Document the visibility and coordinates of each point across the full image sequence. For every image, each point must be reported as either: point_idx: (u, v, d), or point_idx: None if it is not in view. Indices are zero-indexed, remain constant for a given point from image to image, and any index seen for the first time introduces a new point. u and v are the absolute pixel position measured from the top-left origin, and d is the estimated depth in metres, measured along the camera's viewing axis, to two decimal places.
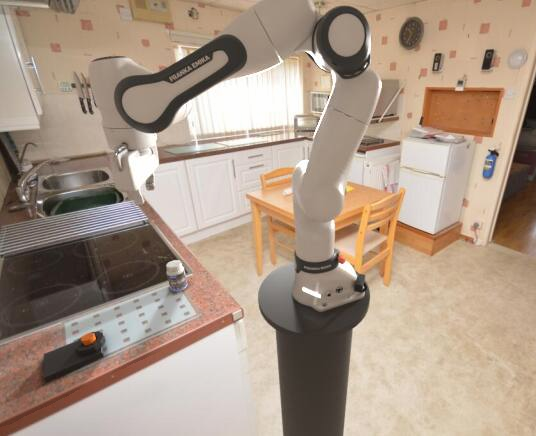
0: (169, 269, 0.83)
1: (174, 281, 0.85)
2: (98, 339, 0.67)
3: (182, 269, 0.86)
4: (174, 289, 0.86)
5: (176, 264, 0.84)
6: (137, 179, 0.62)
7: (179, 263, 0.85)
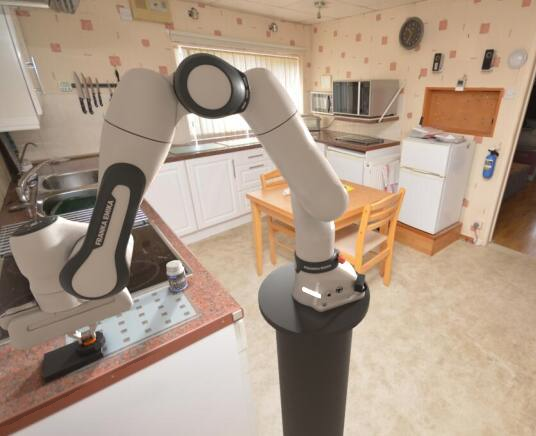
0: (169, 269, 0.83)
1: (174, 281, 0.85)
2: (98, 339, 0.67)
3: (182, 269, 0.86)
4: (174, 289, 0.86)
5: (176, 264, 0.84)
6: (30, 339, 0.58)
7: (179, 263, 0.85)
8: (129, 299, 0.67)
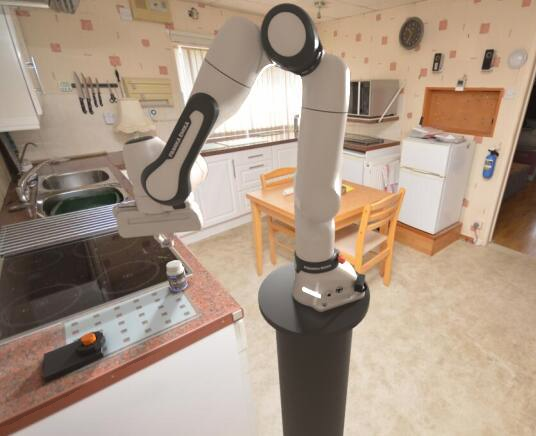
0: (169, 269, 0.83)
1: (174, 281, 0.85)
2: (98, 339, 0.67)
3: (182, 269, 0.86)
4: (174, 289, 0.86)
5: (176, 264, 0.84)
6: (129, 231, 0.75)
7: (179, 263, 0.85)
8: (198, 220, 0.78)
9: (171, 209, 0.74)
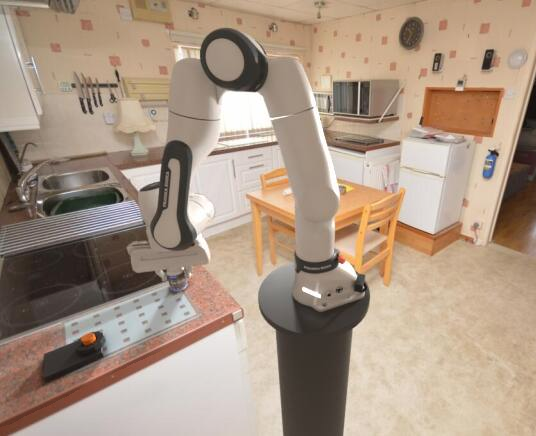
0: (169, 269, 0.83)
1: (174, 281, 0.85)
2: (98, 339, 0.67)
3: (182, 269, 0.86)
4: (174, 289, 0.86)
5: None
6: (141, 266, 0.81)
7: None
8: (206, 256, 0.84)
9: None
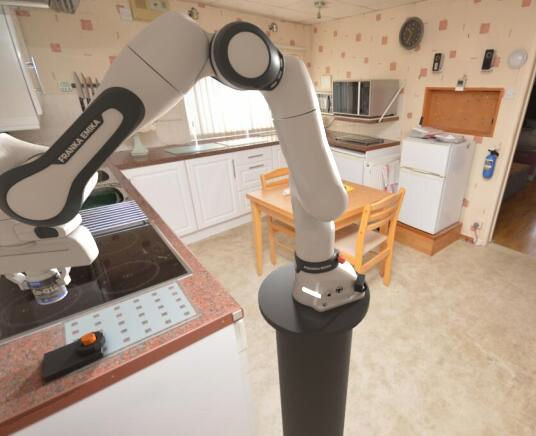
0: (27, 272, 0.55)
1: (38, 290, 0.57)
2: (98, 339, 0.67)
3: (52, 272, 0.58)
4: (40, 301, 0.58)
5: None
6: None
7: None
8: (84, 252, 0.56)
9: (35, 238, 0.51)
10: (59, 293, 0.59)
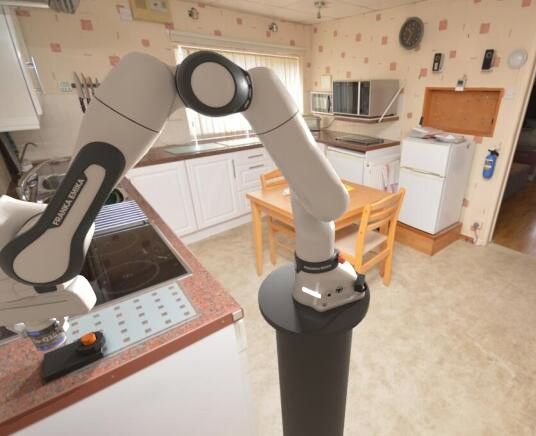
0: (26, 323, 0.57)
1: (37, 339, 0.58)
2: (98, 339, 0.67)
3: (51, 320, 0.59)
4: (40, 349, 0.59)
5: None
6: None
7: None
8: (82, 303, 0.58)
9: (34, 294, 0.53)
10: (58, 340, 0.61)
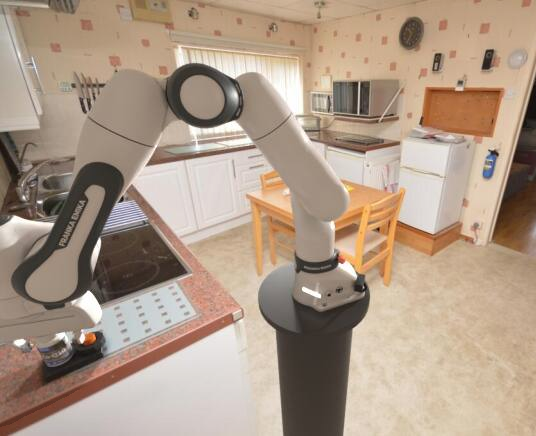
0: (36, 339, 0.59)
1: (47, 354, 0.60)
2: (98, 339, 0.67)
3: (60, 336, 0.61)
4: (49, 364, 0.61)
5: None
6: None
7: None
8: (89, 318, 0.59)
9: (43, 310, 0.55)
10: (66, 355, 0.63)
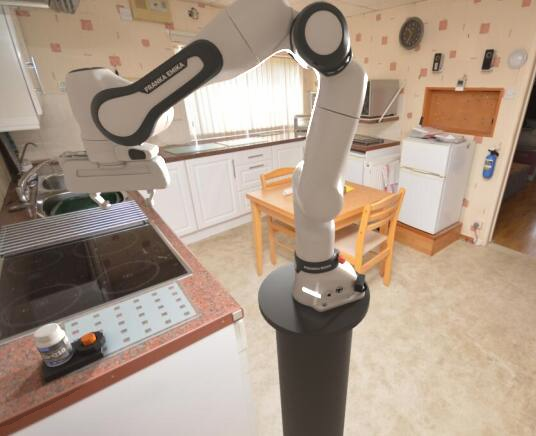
0: (36, 339, 0.59)
1: (47, 354, 0.60)
2: (98, 339, 0.67)
3: (60, 336, 0.61)
4: (49, 364, 0.61)
5: (49, 332, 0.60)
6: (78, 185, 0.64)
7: (54, 329, 0.61)
8: (163, 176, 0.67)
9: (128, 159, 0.62)
10: (66, 355, 0.63)
